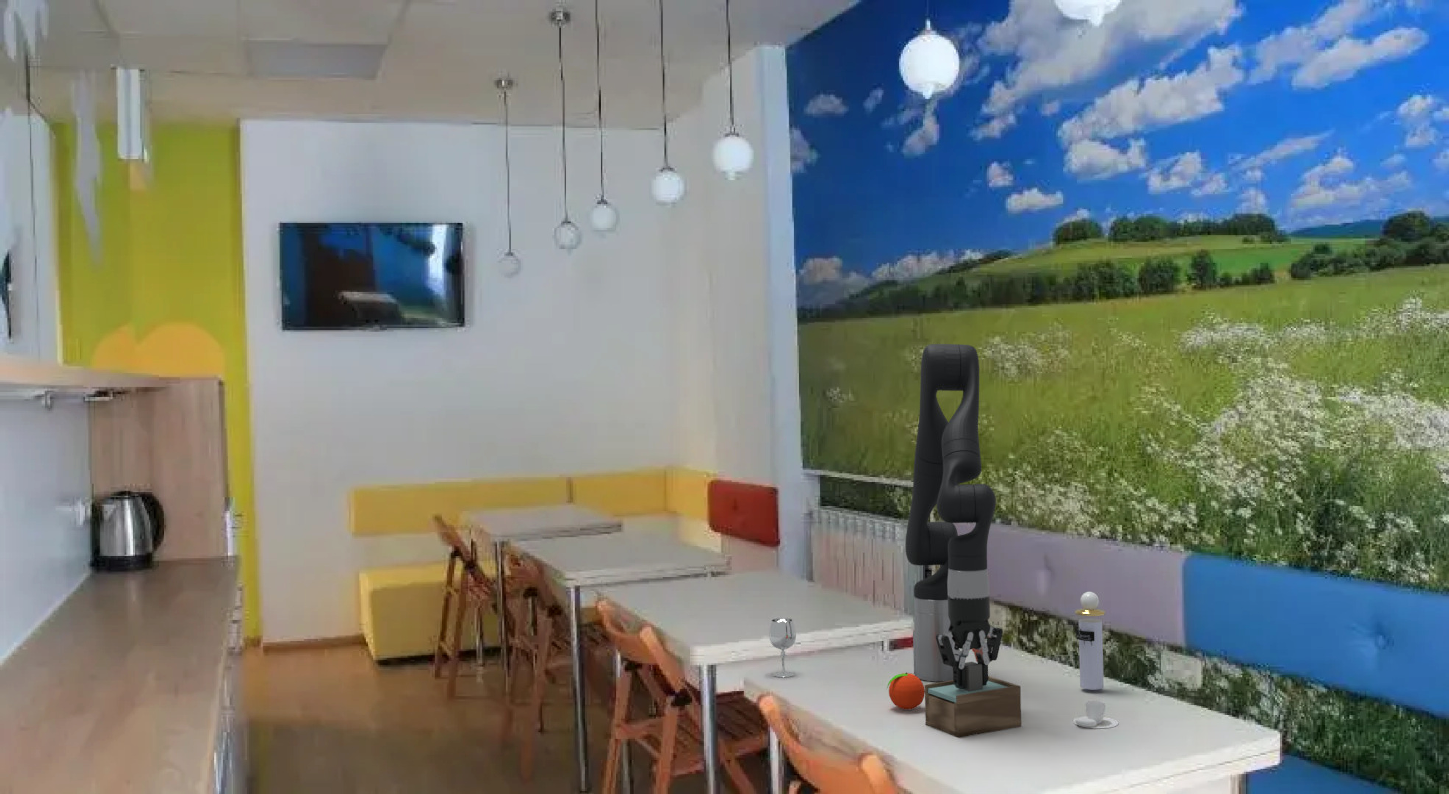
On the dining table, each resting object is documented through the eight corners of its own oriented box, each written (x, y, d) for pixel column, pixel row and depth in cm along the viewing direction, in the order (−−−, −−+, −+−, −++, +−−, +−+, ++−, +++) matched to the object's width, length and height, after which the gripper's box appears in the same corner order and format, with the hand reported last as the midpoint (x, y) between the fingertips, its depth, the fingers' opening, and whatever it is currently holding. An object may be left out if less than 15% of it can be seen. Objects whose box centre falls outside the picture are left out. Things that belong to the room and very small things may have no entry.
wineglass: (779, 670, 273) (778, 617, 273) (801, 673, 269) (800, 619, 269) (765, 676, 268) (763, 621, 268) (787, 679, 265) (786, 623, 265)
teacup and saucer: (1084, 733, 220) (1083, 710, 220) (1060, 722, 227) (1060, 700, 227) (1127, 728, 222) (1126, 705, 222) (1102, 717, 230) (1101, 695, 230)
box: (925, 724, 226) (924, 684, 226) (986, 714, 232) (985, 675, 232) (959, 738, 217) (957, 696, 217) (1021, 726, 223) (1020, 685, 223)
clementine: (897, 716, 233) (896, 679, 232) (877, 708, 239) (876, 671, 239) (932, 710, 236) (931, 673, 236) (912, 703, 242) (911, 667, 242)
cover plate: (928, 693, 226) (927, 664, 226) (984, 683, 231) (984, 655, 231) (956, 703, 218) (955, 673, 218) (1014, 693, 224) (1013, 664, 224)
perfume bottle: (1087, 685, 252) (1085, 588, 252) (1112, 690, 248) (1110, 591, 248) (1071, 690, 248) (1068, 592, 248) (1096, 695, 244) (1094, 595, 244)
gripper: (986, 586, 231) (989, 677, 231) (924, 594, 225) (926, 687, 225) (1012, 592, 224) (1015, 685, 224) (949, 600, 218) (951, 696, 218)
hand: (970, 686), depth 225 cm, fingers open, 4 cm apart
